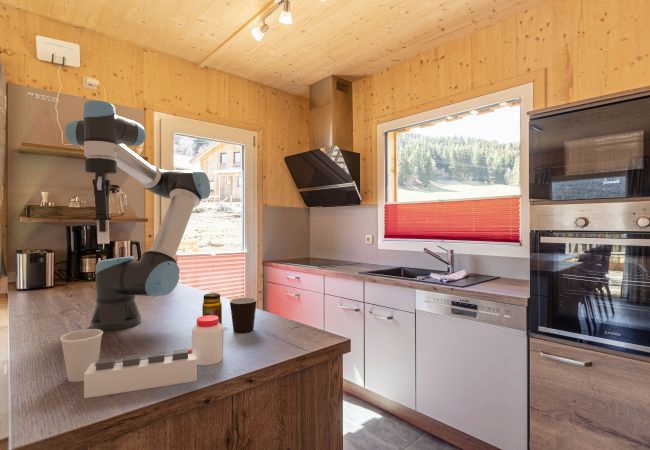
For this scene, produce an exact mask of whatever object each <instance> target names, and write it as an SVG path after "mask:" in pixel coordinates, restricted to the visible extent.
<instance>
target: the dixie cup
mask: <svg viewBox="0 0 650 450" xmlns="http://www.w3.org/2000/svg"><path fill="white" fill-rule="evenodd" d="M103 334H104V331H102V330H99V329H91V328H86V329H79V330H75V331H71V332H67V333H65V334H63V335H61V336H60V339H59V340H60V341H61V346H62V347H61V348H62V353H63V359H64V363H65V369H66V376H67V380H68V382H70V383H80V382H84V373H85V372H86V370H87V369H88V367H89V366H90V364H91V363H96V362H97V361H98V360H100V354H101V344H102V336H103Z"/></svg>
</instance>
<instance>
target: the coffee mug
mask: <svg viewBox="0 0 650 450" xmlns="http://www.w3.org/2000/svg"><path fill="white" fill-rule="evenodd" d="M257 301H258V300H257V298H255V297H247V296H246V297H235V298H232V299H230V300H229V305H230V314H231V315H230V316H231V320H232V321H231V322H232V331H233V333H235V334H238V335H240V334H241V335H242V334H250V333H252V332H253V331H254V328H255V327H254V326H255V319H256V310H257V309H256V308H257Z"/></svg>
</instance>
